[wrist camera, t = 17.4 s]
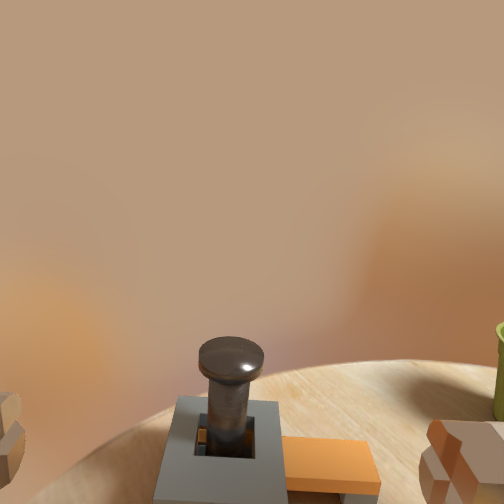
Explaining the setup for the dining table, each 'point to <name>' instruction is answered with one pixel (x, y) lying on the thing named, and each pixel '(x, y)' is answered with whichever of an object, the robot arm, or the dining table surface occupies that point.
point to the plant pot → (499, 377)
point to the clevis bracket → (259, 462)
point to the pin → (228, 391)
